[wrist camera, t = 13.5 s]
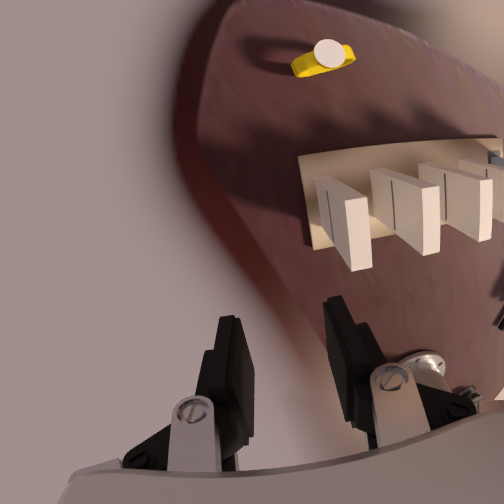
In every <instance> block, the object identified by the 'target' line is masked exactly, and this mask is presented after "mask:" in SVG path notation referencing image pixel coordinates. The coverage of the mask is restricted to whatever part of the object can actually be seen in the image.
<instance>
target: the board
mask: <svg viewBox="0 0 504 504" xmlns="http://www.w3.org/2000/svg"><path fill="white" fill-rule="evenodd" d="M297 157H298V163H299V168H300V173H301V179H302V185H303V190H304V196H305V202H306V208H307V215H308V221H309V227H310V234H311V241H312V247H313V250H317V249H322V248H327V247H332V246H334V244H333V243H332V241H331V240H330V238H329V237H328V235H327V234H326V232H325V231H324V229H323V228H322V225H321V218H320V211H319V204H318V198H317V192H316V185H315V179H314V178H318V177H324V176H331V177H333V178H335V179H337V180H338V181H340V182H342V183H344V184H345V185H347V186H349V187H351V188H352V189H354V190H356V191H358V192H359V193H361V194H363V195H364V196H366V197H367V202H368V213H369V224H370V237H371V239H373V238H379V237H384V236H389V235H394V234H396V233H394V232H393V231H392V230H391V229H389V228H388V227H387V226H385V225H384V224H383V223H381V222H380V221H379V220H377V219H376V218H375V217H374V206H373V196H372V187H371V178H370V169H378V168H385V169H389V170H392V171H395V172H399V173H402V174H405V175H408V176H411V177H414V178H417V179H419V174H418V163H428V162H430V163H434V164H438V165H443V166H447V167H451V168H455V169H458V160H459V159H470V160H475V161H479V162H484V163H488V164H491V157H502V158H503V148H502V138H466V139H444V140H427V141H414V142H402V143H392V144H382V145H373V146H364V147H356V148H348V149H341V150H334V151H327V152H321V153H314V154H308V155H302V156H297ZM443 224H447V223H445V222H444V221H442V220H440V225H443Z"/></svg>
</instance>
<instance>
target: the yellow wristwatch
mask: <svg viewBox="0 0 504 504" xmlns="http://www.w3.org/2000/svg"><path fill="white" fill-rule="evenodd" d="M355 59H356V58H355V56H354V54H353V51H352V49H351V47H349V46H348V45H340V44H339V43H338V42H336V41H334V40H330V39H326V40H322V41H319V42H318V43H317V44H316V45H315V47H314V49H313V51H312V52H309V53H306V54H304V55H302V56H300V57H298V58H297V59H295V60H293V62H292V63H291V67H292V69H293V72H294V74H295V76H296V77H299V78H301V77H309V76H311V75H315V74H319V73H323V72H327V71H331V70H334V69H337V68H340V67H343V66H345V65H348V64H350V63H352V62H353V61H354V60H355Z"/></svg>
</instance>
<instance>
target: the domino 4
mask: <svg viewBox="0 0 504 504" xmlns="http://www.w3.org/2000/svg"><path fill="white" fill-rule="evenodd" d="M458 169H459V170H462V171H466V172H470V173H473V174H477V175H480V176H484V177H487V178H491V179H492V180H493V205H492V217H493V218H495V219H497V220H499V221H501V222H503V223H504V167H500V166H496V165H492V164H488V163H484V162H479V161H475V160H470V159H459V160H458Z"/></svg>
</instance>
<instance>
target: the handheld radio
mask: <svg viewBox="0 0 504 504" xmlns="http://www.w3.org/2000/svg"><path fill="white" fill-rule="evenodd" d="M498 328H499V329H500V330H502V331H503V330H504V318H503V319H502V321H501V323H500V324H499V326H498Z"/></svg>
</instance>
